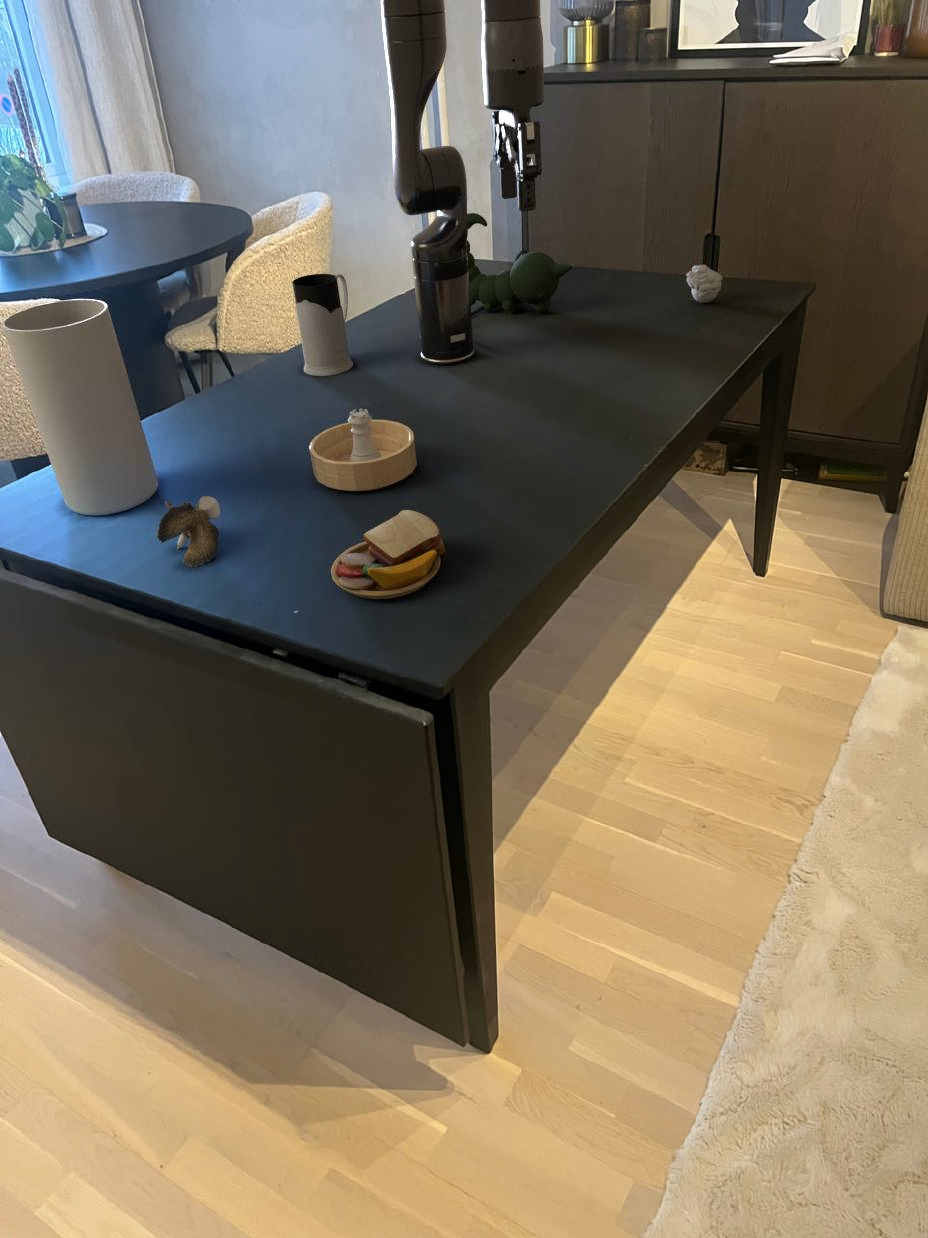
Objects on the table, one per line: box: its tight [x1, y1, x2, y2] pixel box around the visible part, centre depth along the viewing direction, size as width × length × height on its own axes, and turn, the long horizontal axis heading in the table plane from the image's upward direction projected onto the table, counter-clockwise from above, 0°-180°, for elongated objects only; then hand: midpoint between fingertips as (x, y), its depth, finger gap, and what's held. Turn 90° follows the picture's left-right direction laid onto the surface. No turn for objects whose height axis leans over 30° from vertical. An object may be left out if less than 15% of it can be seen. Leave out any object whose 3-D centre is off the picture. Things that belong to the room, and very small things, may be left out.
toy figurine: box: [467, 212, 573, 314], centre depth 180 cm, size 9×19×25 cm
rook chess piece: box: [347, 408, 381, 462], centre depth 128 cm, size 4×4×8 cm
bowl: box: [309, 419, 418, 492], centre depth 129 cm, size 14×14×4 cm
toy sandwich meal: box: [330, 509, 446, 600], centre depth 107 cm, size 12×14×5 cm
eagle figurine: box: [156, 495, 221, 568], centre depth 115 cm, size 8×7×9 cm
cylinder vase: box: [1, 298, 159, 516], centre depth 123 cm, size 12×12×25 cm
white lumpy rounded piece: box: [685, 264, 723, 304], centre depth 178 cm, size 6×7×7 cm
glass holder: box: [291, 273, 354, 377], centre depth 164 cm, size 9×14×15 cm, turn 158°
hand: (517, 204), depth 125 cm, fingers open, 8 cm apart
